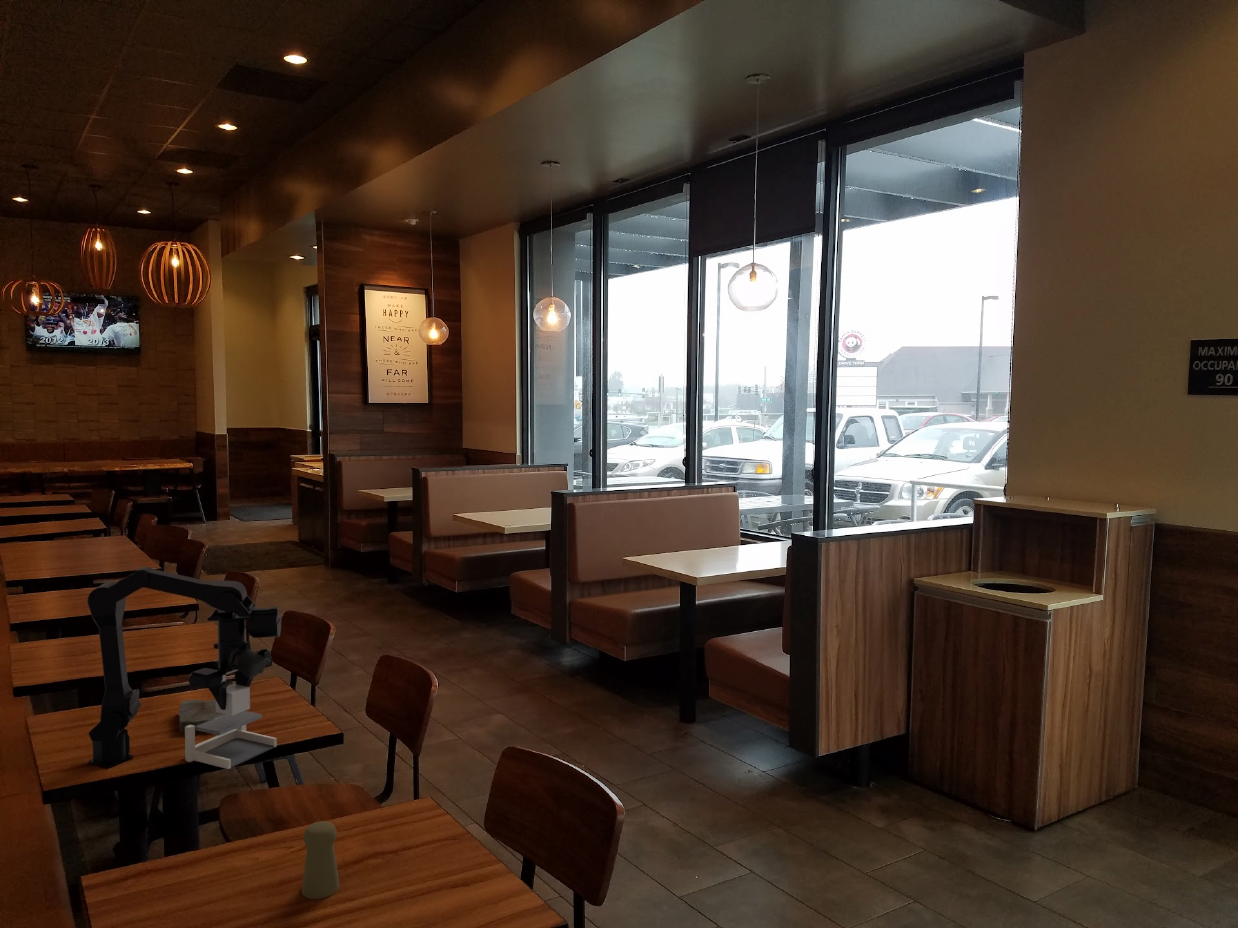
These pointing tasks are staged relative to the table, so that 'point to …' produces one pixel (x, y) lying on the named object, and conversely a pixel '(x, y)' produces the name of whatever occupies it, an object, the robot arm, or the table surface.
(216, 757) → the frame
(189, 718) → the marble piece
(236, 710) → the light grey cube
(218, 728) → the trapdoor
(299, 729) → the table surface
